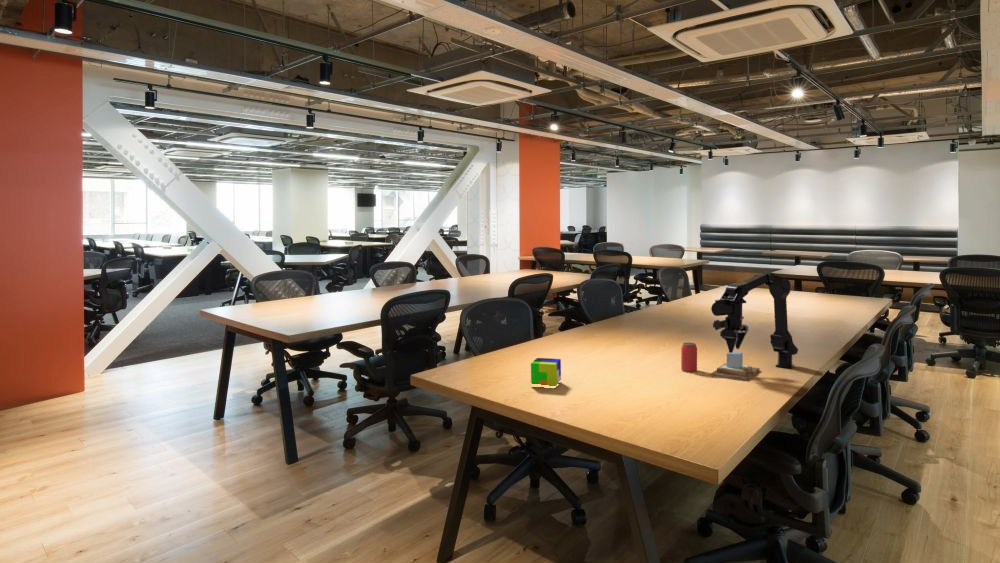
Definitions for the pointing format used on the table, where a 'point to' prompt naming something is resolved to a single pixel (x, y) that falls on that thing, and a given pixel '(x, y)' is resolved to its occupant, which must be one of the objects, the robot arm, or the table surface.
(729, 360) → the block
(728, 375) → the base
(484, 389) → the table surface
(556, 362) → the puzzle toy
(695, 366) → the beer can
